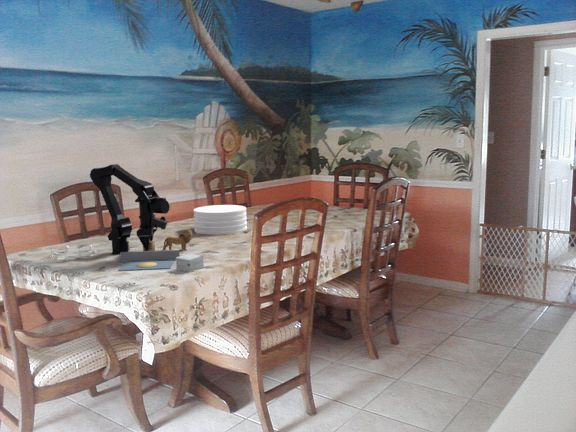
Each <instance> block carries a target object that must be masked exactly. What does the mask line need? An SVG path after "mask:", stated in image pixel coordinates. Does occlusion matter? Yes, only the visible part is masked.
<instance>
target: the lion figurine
mask: <svg viewBox="0 0 576 432" xmlns="http://www.w3.org/2000/svg"><path fill="white" fill-rule="evenodd" d="M192 239H193V231H192V230H190V229H186V230H184V231H183V232H182V233H181V234H180V235H179V236H178V235H177V236H171V235H170V236H168V237H166V238H165V240H164V242H163V248H162V249H161V251H163V250H167V247H168V250H173V249H172V246H173V245H176V246H178V245H180V246H181V250H184V251H188V249H187V244H189V243H190V242H191V241H192Z"/></svg>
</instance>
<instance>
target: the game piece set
mask: <svg viewBox="0 0 576 432" xmlns="http://www.w3.org/2000/svg"><path fill="white" fill-rule="evenodd" d="M88 248H89V251H88V254H89V255H88V256H89V257H93V256H94V254H97V250H96V249H94V250H93V245H92V244H89V245H88ZM64 249H65V250H66V253H69V252H70V246H69V245H65V246H64ZM83 249H84V247H82V248H80V249H79V250H83ZM57 251H58V248H56V251H54V250H53V249H51V250H50V253H51V255H49V258H50V257H51V256H52V257H53V256H54V257H53V259H54V260H58V258H59V256H58V255H59V253H58V252H57ZM68 251H69V252H68ZM52 257H51V258H52ZM78 258H81V259H82V258H83V255H82V254H81V253H79V255H77V259H78ZM64 261H70V258H69V255H65V256H64Z"/></svg>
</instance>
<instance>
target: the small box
mask: <svg viewBox="0 0 576 432" xmlns="http://www.w3.org/2000/svg"><path fill="white" fill-rule="evenodd" d="M204 261H205V259H204V255H200V254H194V253H186V254H183V255H180V256H179V257H176V260H175V263H176V264H175V265H176V266H175V267H176V270H177V271H183V272H187V273H192V272H195V270H196V271H198V270H201V268H202V269H204V268H205V262H204Z"/></svg>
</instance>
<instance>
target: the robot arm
mask: <svg viewBox="0 0 576 432" xmlns="http://www.w3.org/2000/svg"><path fill="white" fill-rule="evenodd" d="M112 176H114V177H115V178H117V179H118V180H120V181H122V182H123V183H124V184H126V185H127V186H129V187H130V188H131V190H132V192H133V193H134V194H135V195H136V196H137V198H136V199H135V200H134V203H138V205H139V206H138V208H139V216H138V218H139V222H140V225H139V228H138V229H137V230H136V236H137V238H138V239H139V241H140V242H141V244H142V247H143V246H144V248H145V250H146V251H148V249H149V241H154V234H155V233H156V232H157V230H158V228H159V229H161V230H165V229H166V228H167V225H168V220H167V218H166V216H161V217H160V218H159V217H156V214H161V215H162V214H164V215H165V214H168V213H169V211H170V204H169V201H168V200H167V197H160V195H159V193H158V191H157V190H156V189H155V186H154V184H152V183H151V182H148V181H146V180H143V179H140V178H137V177H136V176H135V175H133V174H132V173H130V172H128V171H127V170H126V169H124V168H123V167H122V166H121V165H119V164H118V163H115V164H109V165H107V166H103V167H95V168H92V169H91V170H90V173H89V177H90V180H91V181H92V183H93V184H94V185H95V186H96V187H97V188H98V189H99V191H100V193H101V195H102V199H103V200H104V203H105V205H106V208H107V211H108V213H109V216H110V218H111V222H110V228H111V230H110V232H109V233H108V234H107V239H108V241H111V249H112V252H111V255H120V252H130V241H128V238H130V237H131V234H132V232H133V224H132V222H131V219H130V217H129V216H124V215H123V213H122V209H121V207H120V205H119V202H118V200H117V198H116V195H115V192H114V190H113V187H112V179H113V178H112Z"/></svg>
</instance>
